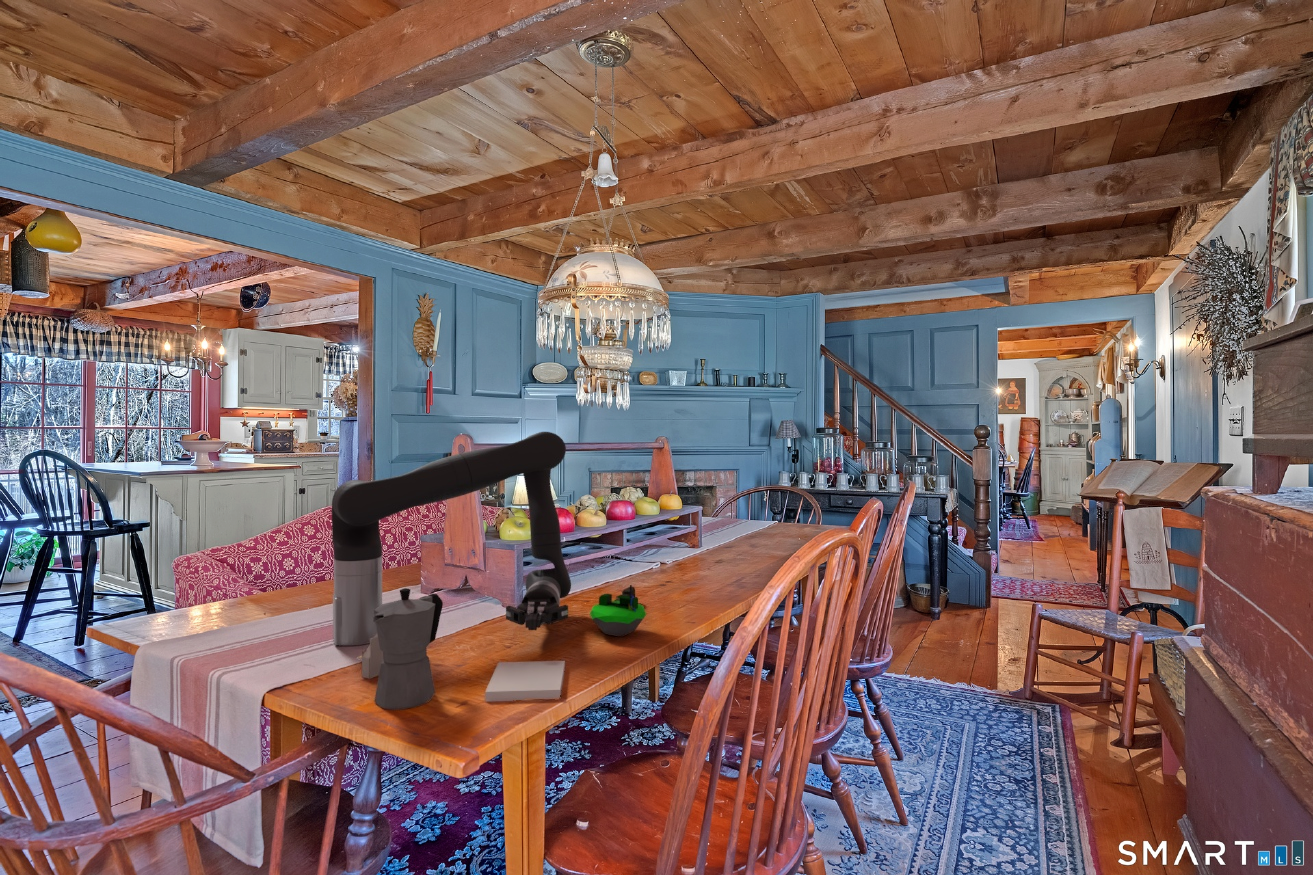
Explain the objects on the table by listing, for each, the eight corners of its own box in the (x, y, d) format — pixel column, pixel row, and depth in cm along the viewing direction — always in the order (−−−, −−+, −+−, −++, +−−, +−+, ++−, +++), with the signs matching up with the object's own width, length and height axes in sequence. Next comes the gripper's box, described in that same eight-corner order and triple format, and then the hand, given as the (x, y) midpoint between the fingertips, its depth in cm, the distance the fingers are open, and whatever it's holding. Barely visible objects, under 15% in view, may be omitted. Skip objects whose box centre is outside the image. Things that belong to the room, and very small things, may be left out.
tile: (498, 673, 122) (485, 704, 108) (498, 662, 122) (485, 691, 108) (564, 671, 123) (560, 701, 109) (564, 660, 123) (560, 689, 109)
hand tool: (615, 624, 153) (615, 603, 153) (599, 622, 155) (599, 602, 154) (644, 604, 171) (644, 585, 171) (629, 602, 172) (629, 584, 172)
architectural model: (355, 678, 120) (355, 636, 120) (385, 666, 126) (385, 626, 126) (369, 681, 118) (369, 639, 118) (399, 668, 125) (399, 628, 125)
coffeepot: (398, 719, 102) (398, 600, 101) (351, 709, 105) (350, 594, 105) (463, 683, 116) (463, 579, 116) (419, 676, 119) (419, 575, 119)
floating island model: (654, 631, 147) (655, 581, 147) (626, 645, 137) (628, 591, 137) (608, 623, 153) (609, 575, 153) (578, 636, 143) (579, 584, 143)
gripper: (509, 584, 142) (496, 605, 125) (572, 583, 143) (567, 604, 126) (509, 619, 142) (496, 645, 125) (572, 618, 143) (567, 644, 126)
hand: (532, 624), depth 126 cm, fingers closed
